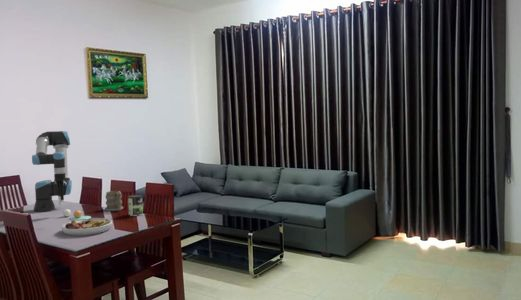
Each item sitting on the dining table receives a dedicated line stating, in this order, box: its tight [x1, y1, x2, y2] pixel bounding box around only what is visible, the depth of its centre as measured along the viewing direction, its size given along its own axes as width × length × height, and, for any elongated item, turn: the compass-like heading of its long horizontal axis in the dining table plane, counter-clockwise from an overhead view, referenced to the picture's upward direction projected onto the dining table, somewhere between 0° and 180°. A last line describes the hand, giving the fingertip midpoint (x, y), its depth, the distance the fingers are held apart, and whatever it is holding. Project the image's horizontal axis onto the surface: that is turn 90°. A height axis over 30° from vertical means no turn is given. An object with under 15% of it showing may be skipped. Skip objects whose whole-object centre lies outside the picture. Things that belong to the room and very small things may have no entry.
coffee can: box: [127, 194, 144, 217], centre depth 319 cm, size 10×10×14 cm
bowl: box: [61, 217, 113, 237], centre depth 275 cm, size 30×30×8 cm
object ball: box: [73, 209, 83, 218], centre depth 312 cm, size 6×6×6 cm
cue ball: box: [62, 208, 72, 218], centre depth 317 cm, size 6×6×6 cm
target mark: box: [69, 215, 92, 221], centre depth 310 cm, size 14×14×1 cm
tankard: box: [104, 190, 124, 212], centre depth 338 cm, size 20×13×15 cm, turn 40°
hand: (61, 204), depth 319 cm, fingers closed
